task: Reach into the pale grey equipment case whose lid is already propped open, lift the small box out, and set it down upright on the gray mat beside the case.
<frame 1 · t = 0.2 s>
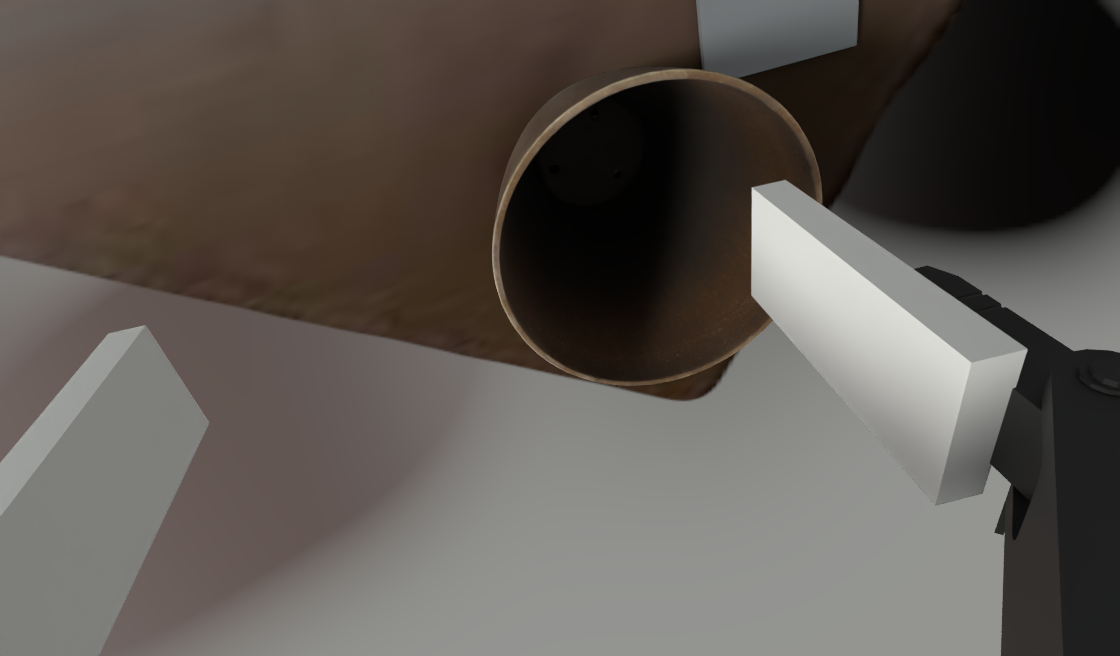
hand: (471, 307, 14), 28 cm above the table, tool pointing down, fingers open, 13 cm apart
plant pot: (588, 147, 41), on the table
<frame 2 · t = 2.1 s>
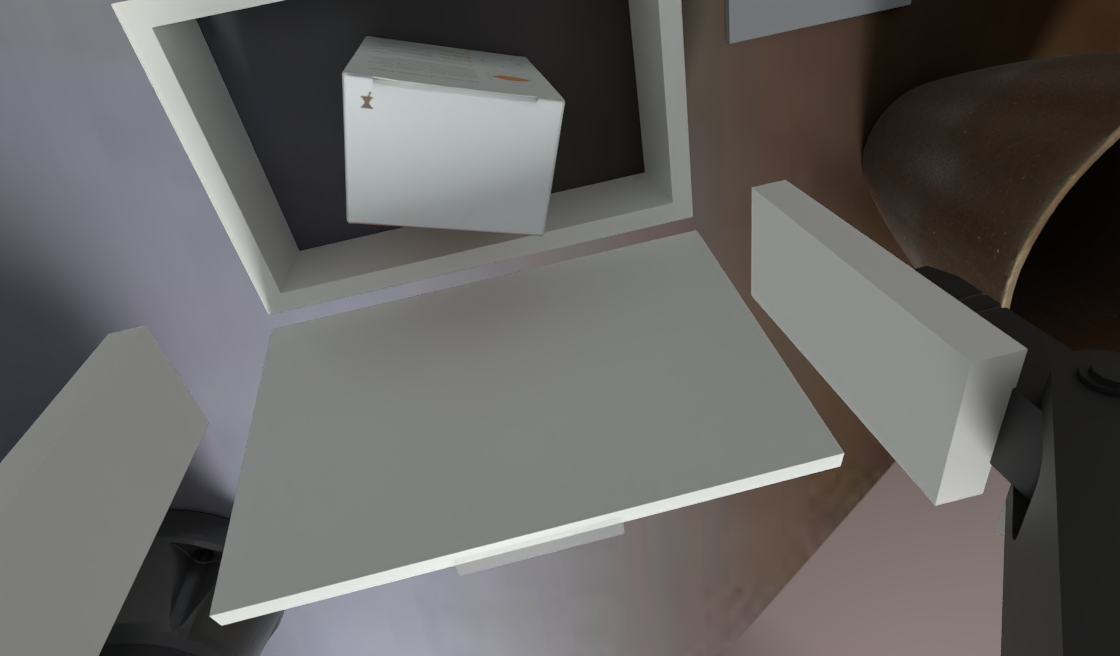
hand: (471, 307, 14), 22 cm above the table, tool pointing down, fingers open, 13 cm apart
plant pot: (915, 141, 38), on the table
case lid: (510, 392, 27), point 12 cm above the table, hinge at 100.0°
equipment case: (446, 103, 32), on the table
small box: (446, 102, 32), resting in equipment case
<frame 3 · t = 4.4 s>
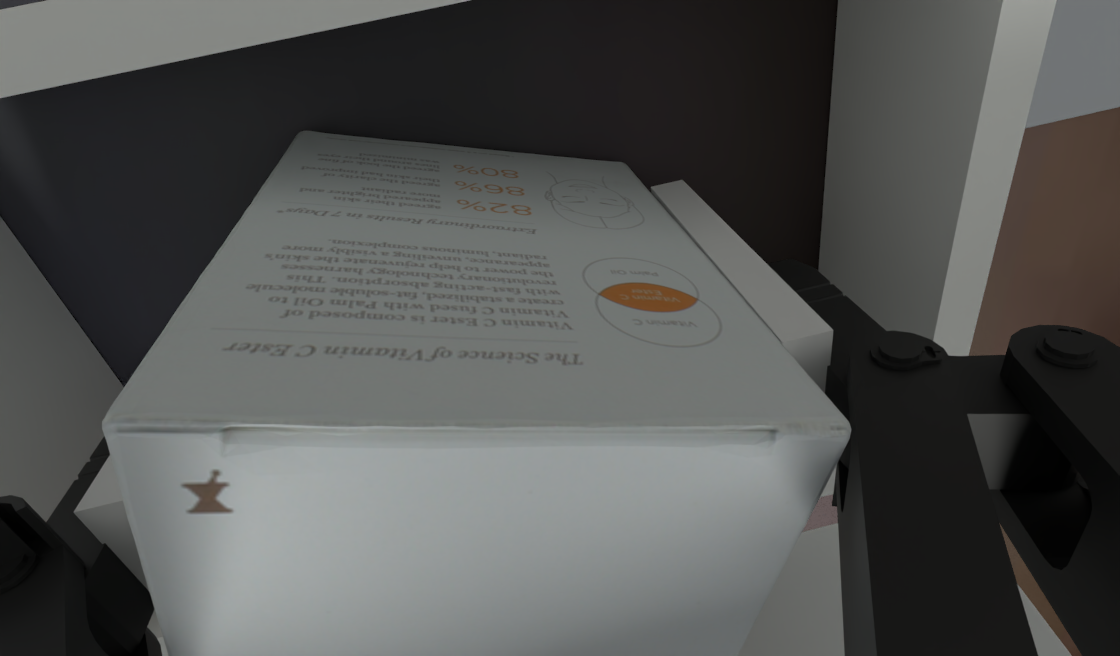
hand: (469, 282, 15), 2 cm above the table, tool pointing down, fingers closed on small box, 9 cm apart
equipment case: (466, 247, 16), on the table
small box: (465, 243, 17), resting in equipment case, touching gripper
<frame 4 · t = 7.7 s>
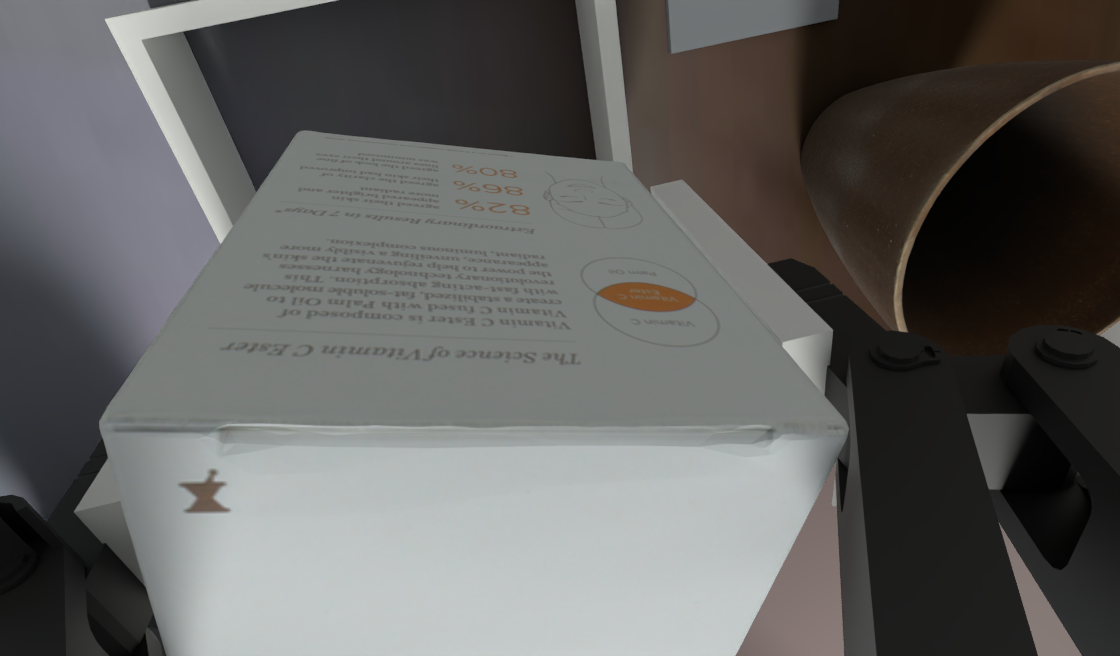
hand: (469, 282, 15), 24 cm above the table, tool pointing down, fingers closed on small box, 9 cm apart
plant pot: (850, 143, 41), on the table
equipment case: (412, 106, 35), on the table
small box: (464, 243, 17), point 22 cm above the table, touching gripper
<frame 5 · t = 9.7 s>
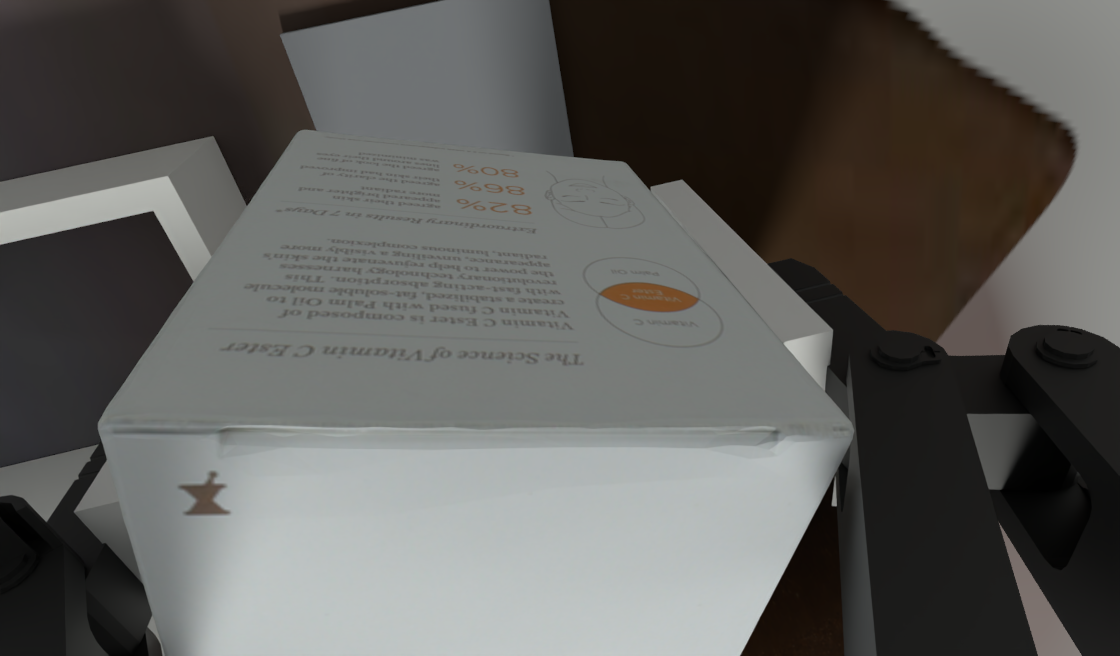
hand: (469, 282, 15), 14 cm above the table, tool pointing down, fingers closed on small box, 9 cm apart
plant pot: (638, 343, 34), on the table
equipment case: (41, 343, 28), on the table
small box: (465, 243, 16), point 11 cm above the table, touching gripper
gray mat: (449, 136, 26), on the table
when the fingers open (5 cm above the table, at t = 11.5 s): small box drops 3 cm, resting on gray mat.
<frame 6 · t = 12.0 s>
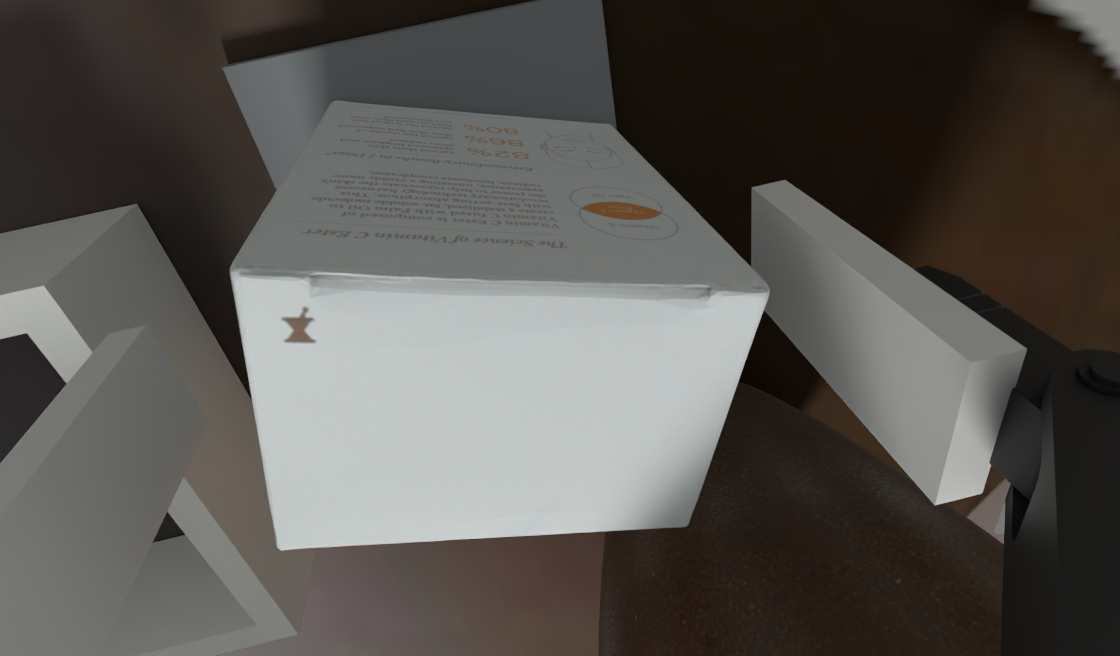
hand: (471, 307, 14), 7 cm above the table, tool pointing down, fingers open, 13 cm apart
plant pot: (695, 441, 27), on the table
small box: (474, 199, 19), resting on gray mat
gray mat: (462, 200, 19), on the table
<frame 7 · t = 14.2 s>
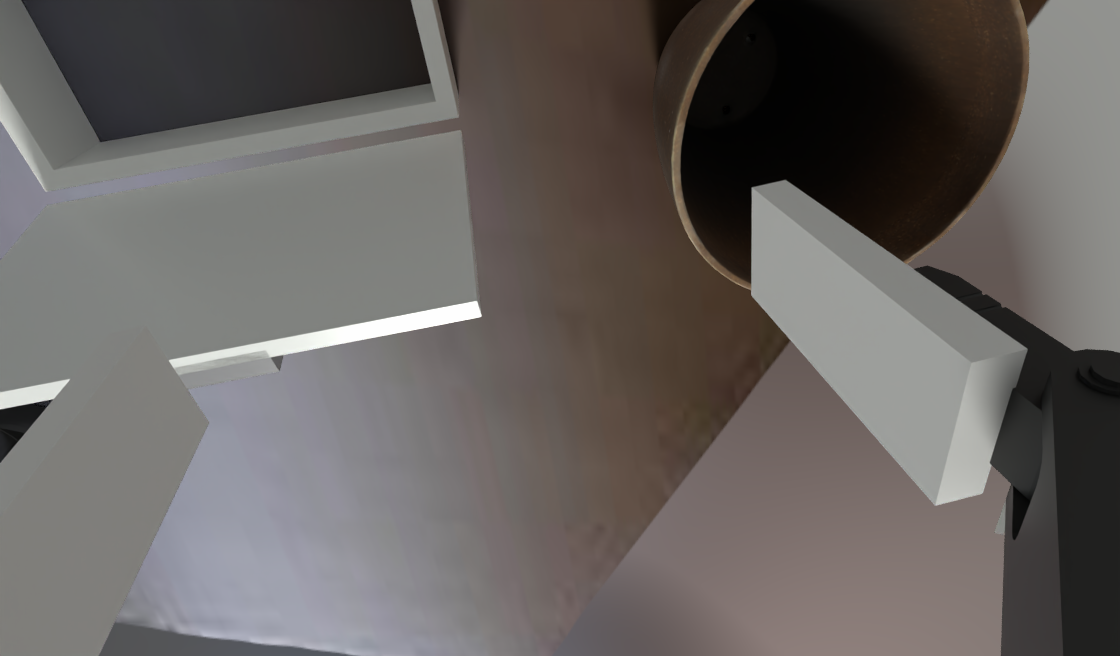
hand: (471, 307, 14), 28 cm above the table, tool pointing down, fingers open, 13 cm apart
plant pot: (714, 66, 39), on the table
case lid: (233, 258, 28), point 12 cm above the table, hinge at 100.0°
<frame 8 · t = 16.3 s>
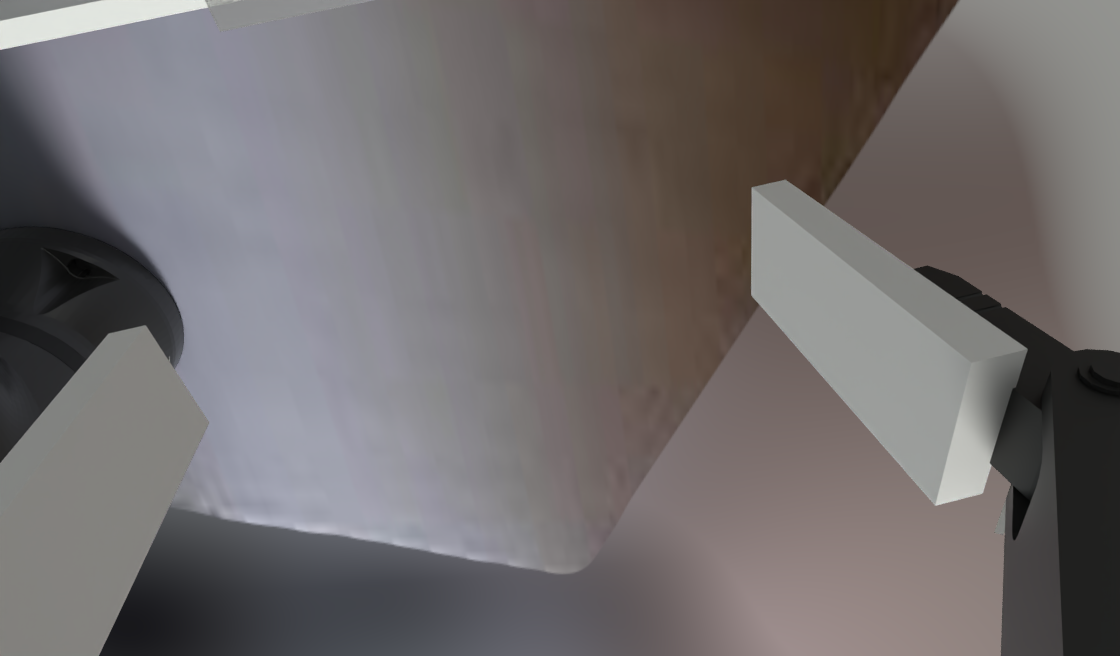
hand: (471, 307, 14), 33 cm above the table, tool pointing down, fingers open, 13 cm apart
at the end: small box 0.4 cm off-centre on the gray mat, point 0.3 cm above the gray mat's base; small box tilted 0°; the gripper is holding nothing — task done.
